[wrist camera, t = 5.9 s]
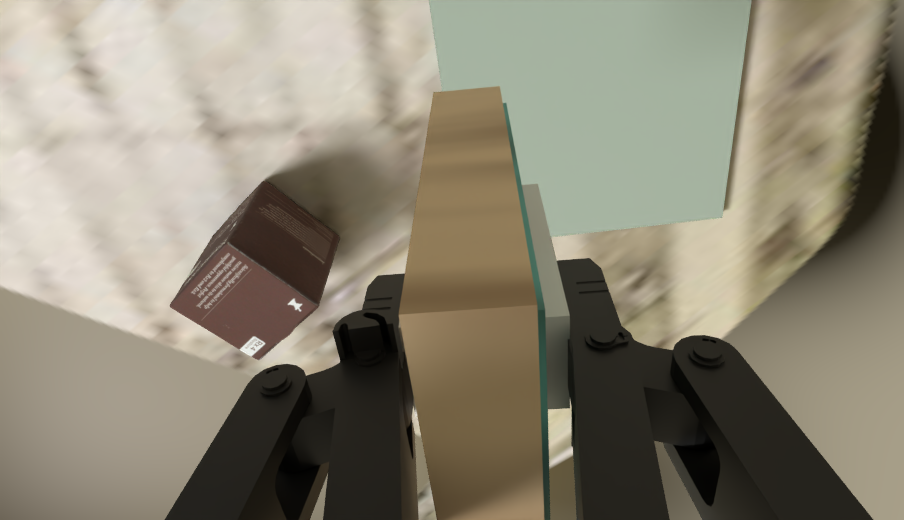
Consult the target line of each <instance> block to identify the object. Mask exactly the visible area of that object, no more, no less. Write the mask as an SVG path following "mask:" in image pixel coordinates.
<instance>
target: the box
mask: <svg viewBox="0 0 904 520" xmlns="http://www.w3.org/2000/svg"><path fill="white" fill-rule="evenodd" d="M339 239H340V237H339V236H338V235H337V234H335V233H334V232H333V231H332V230H330V229H329V228H328V227H326V226H325V225H324V224H322V223H321V222H320V221H318V220H317V219H316V218H314V217H313V216H311V215H310V214H309V213H307V212H306V211H305V210H303V209H302V208H301V207H299V206H298V205H297V204H296V203H294V202H293V201H292V200H290V199H289V198H288V197H286V196H285V195H284V194H282V193H281V192H280V191H279V190H277V189H276V188H275V187H273V186H272V185H270V184H269V183H268V182H266V181H263V182H262V183H261V184H260V185H259V186H258V187H257V188H256V189H255V190H254V191H253V192H252V193H251V194H250V195H249V197H247V198H246V200H245V201H244V202H243V203H242V204H241V205H240V206H239V207H238V208H237V209H236V211H235V212H234V213H233V214H232V215H231V216H230V217H229V218H228V220H227V221H226V222H225V223H224V224H223V225H222V226H221V228H220V229H219V230H217V232H216V233H215V234H214V235H213V236H212V238H211V240H210V242H209V243H208V245H207V247H206V248H205V249H204V251H203V253H202V254H201V256H200V258H199V259H198V261H197V262H196V264H195V266H194V267H193V269H192V271H191V272H190V274H189V275H188V277H187V279H186V280H185V282H184V284H183V285H182V287H181V288H180V290H179V292H178V293H177V295H176V297H175V298H174V300H173V301H172V302H171V304H170V307H171V308H172V309H174V310H176V311H177V312H179V313H180V314H182V315H184V316H185V317H187V318H189V319H190V320H192V321H194V322H195V323H197V324H199V325H200V326H202V327H204V328H205V329H207V330H208V331H210V332H212V333H214V334H215V335H217V336H218V337H220V338H222V339H223V340H225V341H226V342H228V343H230V344H231V345H233V346H234V347H236V348H238V349H239V350H241V351H242V352H244V353H246V354H248V355H250V356H251V357H253V358H255V359H257V360H260V359H262V358H263V357H264V356H265V355H266V354H267V353H268V352H270V350H271V349H273V348H274V347H275V346H276V345H277V344H278V343H279V342H280V341H281V340H283V339H285V338H286V337H287V336H289V335H290V334H291V333H292V332H293V330H294V329H295V328H296V327H297V326H298V325H299V324H300V323H301V322H303V321H304V320H305V319H306V318H307V317H308V316H309V315H310V314H312V313H313V312H314V311H315V310H316V309H317V308H318V307H319V303H320V300H321V297H322V294H323V291H324V288H325V285H326V282H327V278H328V275H329V272H330V269H331V265H332V262H333V259H334V255H335V251H336V248H337V245H338V242H339Z"/></svg>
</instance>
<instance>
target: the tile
mask: <svg viewBox="0 0 904 520" xmlns="http://www.w3.org/2000/svg"><path fill="white" fill-rule="evenodd" d="M399 320H400V325H401V331H402V336H403V341H404V347H405V352H406V357H407V362H408V368H409V373H410V378H411V384H412V389H413V394H414V400H415V405H416V410H417V416H418V421H419V426H420V432H421V437H422V442H423V447H424V452H425V458H426V463H427V468H428V474H429V479H430V485H431V490H432V495H433V501H434V506H435V511H436V516H437V520H550V489H549V446H548V404H547V361H546V318H545V306H544V300H543V295H542V290H541V284H540V279H539V274H538V268H537V263H536V258H535V252H534V247H533V242H532V237H531V231H530V226H529V221H528V215H527V210H526V205H525V199H524V194H523V189H522V183H521V178H520V173H519V167H518V162H517V157H516V152H515V146H514V141H513V136H512V130H511V125H510V120H509V114H508V109H507V104H506V103H503V102H502V96H501V90H500V86H495V87H485V88H474V89H464V90H454V91H443V92H434V93H433V99H432V106H431V112H430V118H429V125H428V131H427V137H426V144H425V150H424V156H423V163H422V169H421V175H420V182H419V188H418V194H417V201H416V207H415V213H414V220H413V226H412V232H411V239H410V245H409V251H408V258H407V264H406V270H405V277H404V283H403V289H402V296H401V302H400V308H399Z"/></svg>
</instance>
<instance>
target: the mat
mask: <svg viewBox="0 0 904 520" xmlns="http://www.w3.org/2000/svg"><path fill="white" fill-rule="evenodd" d="M751 2H752V0H429V5H430V12H431V18H432V25H433V32H434V39H435V45H436V52H437V59H438V66H439V72H440V79H441V86H442V92H443V91H454V90H464V89H474V88H485V87H495V86H500V90H501V96H502V102H503V103H506V104H507V109H508V114H509V120H510V125H511V130H512V136H513V141H514V146H515V152H516V157H517V162H518V167H519V173H520V178H521V183H522V185H528V184H538V186H539V190H540V195H541V199H542V203H543V207H544V211H545V215H546V219H547V223H548V228H549V232H550V236H551V237H557V236H566V235H574V234H583V233H592V232H601V231H610V230H619V229H628V228H636V227H645V226H654V225H663V224H672V223H681V222H690V221H699V220H707V219H716V218H722V216H723V209H724V201H725V194H726V186H727V179H728V172H729V164H730V157H731V150H732V142H733V135H734V127H735V120H736V113H737V105H738V98H739V90H740V83H741V76H742V68H743V61H744V53H745V46H746V39H747V31H748V24H749V17H750V9H751Z"/></svg>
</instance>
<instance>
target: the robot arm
mask: <svg viewBox="0 0 904 520" xmlns="http://www.w3.org/2000/svg"><path fill="white" fill-rule="evenodd" d="M522 189H523V194H524V199H525V205H526V210H527V215H528V221H529V226H530V231H531V237H532V242H533V247H534V252H535V258H536V263H537V268H538V274H539V279H540V284H541V290H542V295H543V300H544V306H545V318H546V361H547V404H548V409H562V408H570V400H571V405H572V447H573V458H574V477H575V495H576V515H577V520H670V519H669V514H668V509H667V504H666V500H665V494H664V490H663V484H662V479H661V474H660V469H659V464H658V459H657V454H656V449H655V444H654V441H659V442H663V444H664V447H665V449H666V451H667V453H668V455H669V457H670V459H671V461H672V463H673V465H674V466H675V468H676V470H677V472H678V474H679V476H680V478H681V479H682V482H683V483H684V485H685V487H686V489H687V491H688V493H689V495H690V497H691V499H692V501H693V502H694V504H695V506H696V508H697V510H698V511H699V514H700V516H701V518H702V520H873V519H872V518H871V516H870V515H869V514H868V513H867V511H866V510H865V509H864V508H863V506H862V505H861V504H860V503H859V502H858V500H857V499H856V498H855V496H854V495H853V494H852V493H851V491H850V490H849V489H848V488H847V486H846V485H845V484H844V483H843V481H842V480H841V479H840V478H839V476H838V475H837V474H836V473H835V471H834V470H833V469H832V468H831V466H830V465H829V464H828V463H827V461H826V460H825V459H824V458H823V456H822V455H821V454H820V453H819V452H818V450H817V449H816V448H815V447H814V445H813V444H812V443H811V442H810V440H809V439H808V438H807V437H806V436H805V434H804V433H803V432H802V430H801V429H800V428H799V427H798V426H797V424H796V423H795V422H794V420H793V419H792V418H791V417H790V415H789V414H788V413H787V412H786V410H785V409H784V408H783V407H782V405H781V404H780V403H779V402H778V400H777V399H776V398H775V397H774V395H773V394H772V393H771V392H770V391H769V389H768V388H767V387H766V385H765V384H764V383H763V382H762V381H761V379H760V378H759V377H758V376H757V374H756V373H755V372H754V370H753V369H752V368H751V367H750V365H749V364H748V363H747V362H746V360H744V358H743V357H742V356H741V354H740V353H739V352H738V351H737V350H736V349H735V348H734V347H733V346H732V345H730V344H729V343H727V342H725V341H723V340H721V339H719V338H715V337H710V336H705V335H698V336H689V337H686V338H683V339H681V340H680V341H679V342H677V343H676V344H675V346H674V349H673V350H668V349H662V348H655V347H651V346H647V345H644V344H642V343H639V342H637V341H635V340H634V339H633V337H632V335H631V333H630V332H628V331H627V330H626V329H625V328H623V327H622V326H621V323H620V321H619V318H618V315H617V312H616V309H615V306H614V304H613V301H612V298H611V295H610V292H609V289H608V287H607V284H606V283H605V278H604V275H603V273H602V270H601V268H600V267H599V266H598V265H597V264H595V263H594V262H593V261H592V260H591V259H590V258H586V259H573V260H559V261H556V256H555V252H554V248H553V244H552V240H551V236H550V232H549V228H548V223H547V219H546V215H545V211H544V207H543V203H542V199H541V195H540V190H539V186H538V184H528V185H522ZM404 277H405V274H393V275H380V276H377V277H376V278H375V279H374V280H373V282H372V283H371V284H370V285H369V286H368V288H367V292H366V296H365V302H364V304H363V308H362V310H360V311H356V312H353V313H351V314H349V315H347V316H345V317H343V318H342V319H341V320H340V321H339V322H338V323H337V324H336V325H335V327H334V330H333V335H334V339H335V342H336V346H337V350H338V353H339V357H340V363H339V364H337V365H335V366H334V367H332V368H329V369H326V370H324V371H321V372H317V373H314V374H311V375H307V376H306V375H305V372H304V370H302V369H301V368H300V367H298V366H296V365H290V364H283V365H275V366H273V367H270V368H267V369H265V370H263V371H262V372H260V373H259V374H257V375H255V376H254V377H253V379H252V380H251V381H250V382H249V383H248V385H247V386H246V388H245V389H244V391H243V393H242V394H241V396H240V398H239V399H238V401H237V403H236V404H235V406H234V408H233V409H232V411H231V412H230V414H229V416H228V417H227V419H226V421H225V422H224V424H223V426H222V427H221V429H220V430H219V432H218V434H217V435H216V437H215V438H214V440H213V442H212V443H211V445H210V447H209V448H208V450H207V451H206V453H205V455H204V456H203V458H202V460H201V462H200V463H199V465H198V466H197V468H196V469H195V471H194V473H193V474H192V476H191V478H190V479H189V481H188V483H187V484H186V486H185V487H184V489H183V491H182V492H181V494H180V496H179V497H178V499H177V500H176V502H175V504H174V505H173V507H172V509H171V510H170V512H169V514H168V515H167V517H166V519H165V520H310V518H311V515H312V513H313V510H314V507H315V505H316V502H317V499H318V497H319V494H320V492H321V489H322V487H323V484H324V481H325V479H326V476H327V474H328V479H327V488H326V498H325V507H324V516H323V520H418V498H417V476H416V457H415V456H416V455H415V433H414V428H413V423H412V410H413V406H414V411H415V417H418V416H417V410H416V405H415V400H414V394H413V389H412V384H411V378H410V373H409V368H408V362H407V357H406V352H405V347H404V341H403V336H402V331H401V325H400V320H399V308H400V302H401V296H402V289H403V283H404Z"/></svg>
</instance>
